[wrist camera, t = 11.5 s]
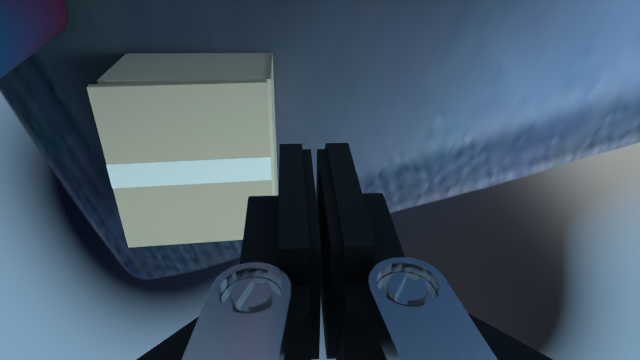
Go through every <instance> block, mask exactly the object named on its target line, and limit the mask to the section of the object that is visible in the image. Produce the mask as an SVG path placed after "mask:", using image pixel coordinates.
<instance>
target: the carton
mask: <svg viewBox="0 0 640 360" xmlns="http://www.w3.org/2000/svg"><path fill="white" fill-rule="evenodd" d="M236 80H267V89H268V111H269V133H270V155H271V176H272V196H278V181H277V155H276V129H275V103H274V77H273V53H126V54H125V55H124V56H123V57H122V58H121V59H120V60H119V61H118V62H116V63H115V64H114V65H113V66H112V67H111V68H110V69H109V70H108V71H107V72H106V73H104V74H103V75H102V76H101V77H100V78H99V79H98V80H97V82H98V84H123V83H160V82H198V81H236Z"/></svg>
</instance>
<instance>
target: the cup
mask: <svg viewBox="0 0 640 360" xmlns="http://www.w3.org/2000/svg"><path fill="white" fill-rule="evenodd" d="M67 19H68V14H67V9H66V6H65V4H64V2H63V0H0V79H1V78H2V77H3V76H5V75H6V74H7V73H9V72H10V71H11V70H12V69H14V68H15V67H16V66H18V65H19V64H20V63H22V62H23V61H24V60H26V59H27V58H28V57H29V56H31V55H32V54H33V53H35V52H36V51H37V50H39V49H40V48H41V47H43V46H44V45H45V44H46V43H48V42H49V41H50V40H52V39H53V38H54V37H56V36H57V35H58V34H60V33H61V32H62V31H63V30H64V28H65V26H66V24H67Z"/></svg>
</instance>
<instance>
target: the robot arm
mask: <svg viewBox="0 0 640 360" xmlns="http://www.w3.org/2000/svg"><path fill="white" fill-rule="evenodd" d="M320 296H321V304H322V314H323V326H324V336H325V347H326V356H327V359H332V358H336V360H552V359H551V358H549V357H547V356H545V355H543V354H541V353H539V352H538V351H536V350H534V349H532V348H530V347H528V346H527V345H525V344H523V343H521V342H520V341H518V340H516V339H514V338H512V337H510V336H508V335H507V334H505V333H503V332H501V331H500V330H498V329H496V328H494V327H492V326H490V325H488V324H487V323H485V322H483V321H481V320H479V319H477V318H476V317H474V316H472V315H470V314H469V313H467V312H466V310H465V309H464V307H463V306H462V304H461V303H460V301H459V299H458V298H457V296H456V295H455V293H454V292H453V290H452V289H451V287H450V285H449V284H448V282H447V281H446V279H445V278H444V277H443V276H442V274H441V273H440V272H439V271H438V270H437V269H435V268H434V267H432V266H431V265H429V264H428V263H425V262H423V261H420V260H417V259H412V258H407V257H405V256H404V253H403V250H402V248H401V245H400V242H399V239H398V236H397V233H396V231H395V228H394V224H393V221H392V219H391V216H390V213H389V210H388V207H387V204H386V201H385V198H384V196H383V194H382V193H364V194H362V192H361V188H360V184H359V181H358V177H357V174H356V170H355V166H354V163H353V159H352V155H351V152H350V148H349V144H348V143H326V145H325V149H317V191H316V193H315V184H314V175H313V166H312V157H311V149H307V150H302V144H280V161H279V196H249V197H248V203H247V211H246V219H245V227H244V236H243V244H242V252H241V260H240V264H239V265H235V266H233V267H231V268H229V269H227V270H225V271H224V272H223V273H222V274H220V275H219V276H218V277H217V278H216V280H215V281H214V283H213V284H212V286H211V288H210V291H209V293H208V295H207V298H206V300H205V303H204V305H203V308H202V310H201V313H200V315H199V317H197V318H196V319H194V320H193V321H192V322H190V323H189V324H187V325H186V326H184V327H183V328H181V329H180V330H179V331H177V332H176V333H174V334H173V335H171V336H170V337H169V338H167V339H166V340H164V341H163V342H161V343H160V344H158V345H157V346H156V347H154V348H153V349H151V350H150V351H148V352H147V353H145V354H144V355H143V356H141V357H140V358H138V359H137V360H311V359H319V339H320Z"/></svg>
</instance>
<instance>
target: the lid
mask: <svg viewBox="0 0 640 360" xmlns="http://www.w3.org/2000/svg"><path fill="white" fill-rule="evenodd" d="M86 88H87V91H88V95H89V99H90V103H91V107H92V110H93V114H94V118H95V122H96V126H97V130H98V133H99V137H100V141H101V145H102V149H103V153H104V156H105V160H106V167H107V171H108V174H109V178H110V182H111V186H112V188H113V191H114V195H115V198H116V202H117V206H118V210H119V214H120V218H121V221H122V225H123V229H124V233H125V237H126V241H127V244H128V247H142V246H157V245H172V244H186V243H201V242H215V241H230V240H243V236H244V227H245V219H246V211H247V203H248V197H249V196H272V176H271V155H270V133H269V111H268V89H267V80H236V81H198V82H160V83H123V84H89V85H88V86H87V87H86Z"/></svg>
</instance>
